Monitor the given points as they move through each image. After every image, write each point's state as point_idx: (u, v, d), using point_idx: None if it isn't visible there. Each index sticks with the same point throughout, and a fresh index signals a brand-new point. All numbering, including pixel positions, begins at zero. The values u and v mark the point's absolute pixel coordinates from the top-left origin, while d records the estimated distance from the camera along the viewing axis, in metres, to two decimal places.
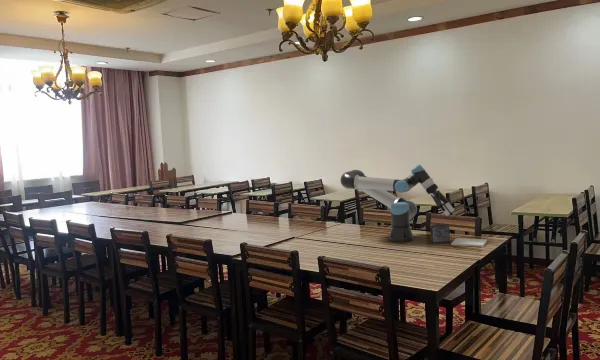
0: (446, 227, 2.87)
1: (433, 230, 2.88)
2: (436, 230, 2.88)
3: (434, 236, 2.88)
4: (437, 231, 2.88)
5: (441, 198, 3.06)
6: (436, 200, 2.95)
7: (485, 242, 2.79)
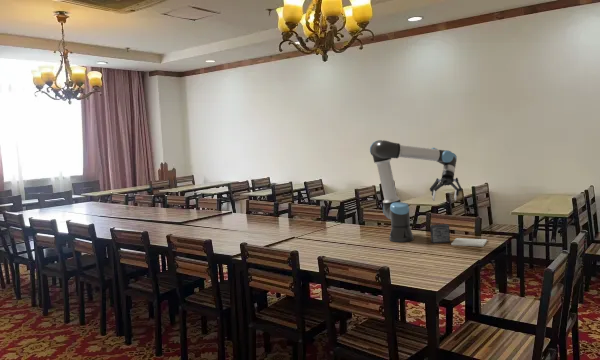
0: (446, 227, 2.87)
1: (433, 230, 2.88)
2: (436, 230, 2.88)
3: (434, 236, 2.88)
4: (437, 231, 2.88)
5: (440, 186, 3.09)
6: (459, 185, 3.03)
7: (485, 242, 2.79)
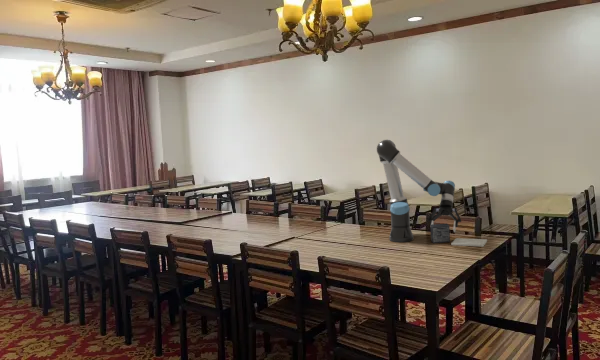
0: (446, 227, 2.86)
1: (433, 230, 2.87)
2: (436, 230, 2.87)
3: (434, 236, 2.88)
4: (437, 232, 2.87)
5: (438, 216, 2.99)
6: (458, 215, 2.93)
7: (485, 242, 2.79)
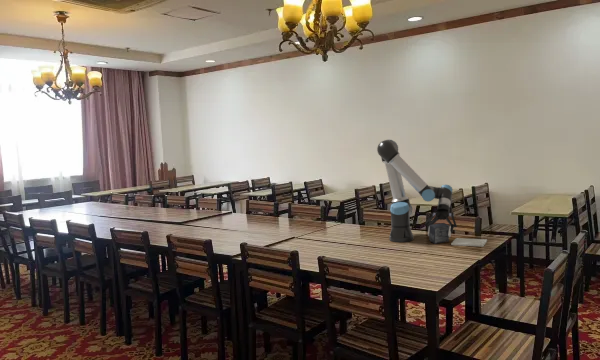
0: (447, 227, 2.87)
1: (435, 231, 2.85)
2: (438, 230, 2.86)
3: (436, 237, 2.86)
4: (438, 232, 2.86)
5: (435, 220, 2.97)
6: (454, 220, 2.91)
7: (485, 242, 2.79)
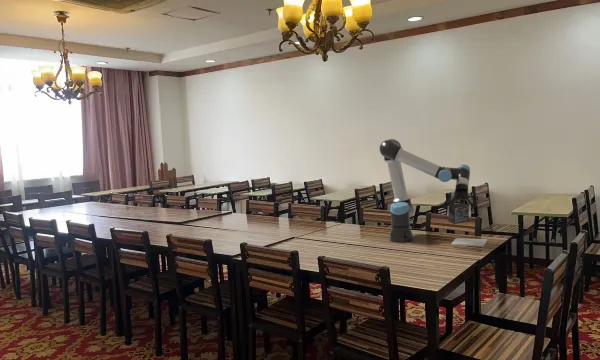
0: (467, 206, 2.80)
1: (455, 210, 2.78)
2: (458, 210, 2.79)
3: (455, 216, 2.79)
4: (458, 212, 2.79)
5: (454, 200, 2.90)
6: (474, 200, 2.84)
7: (485, 242, 2.79)
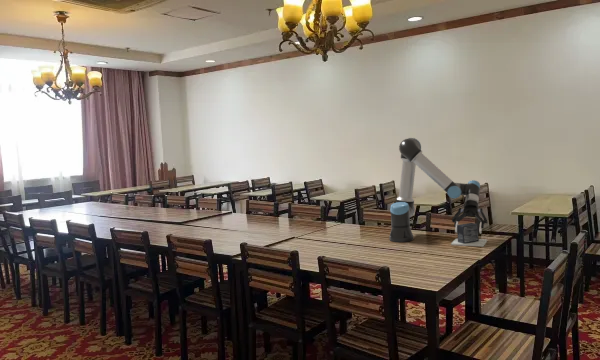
0: (475, 226, 2.80)
1: (464, 230, 2.78)
2: (467, 229, 2.78)
3: (465, 236, 2.78)
4: (467, 231, 2.78)
5: (463, 216, 2.88)
6: (484, 216, 2.82)
7: (485, 242, 2.79)
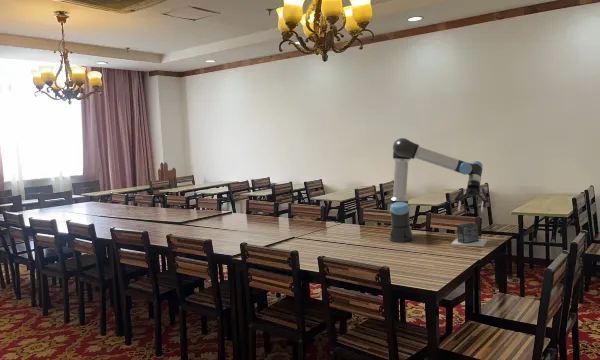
0: (475, 226, 2.80)
1: (464, 230, 2.78)
2: (467, 229, 2.78)
3: (465, 236, 2.78)
4: (467, 231, 2.78)
5: (465, 196, 2.99)
6: (486, 196, 2.93)
7: (485, 242, 2.79)
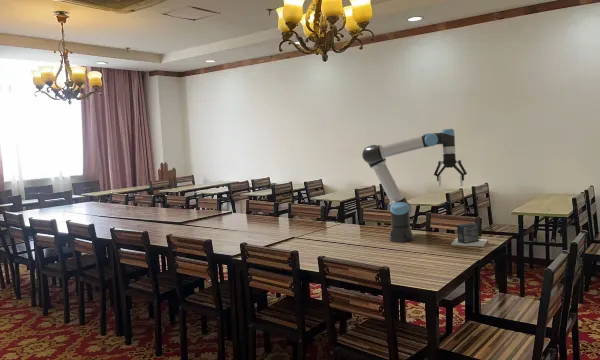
0: (475, 226, 2.80)
1: (464, 230, 2.78)
2: (467, 229, 2.78)
3: (465, 236, 2.78)
4: (467, 231, 2.78)
5: (443, 169, 3.06)
6: (463, 168, 3.00)
7: (485, 242, 2.79)
